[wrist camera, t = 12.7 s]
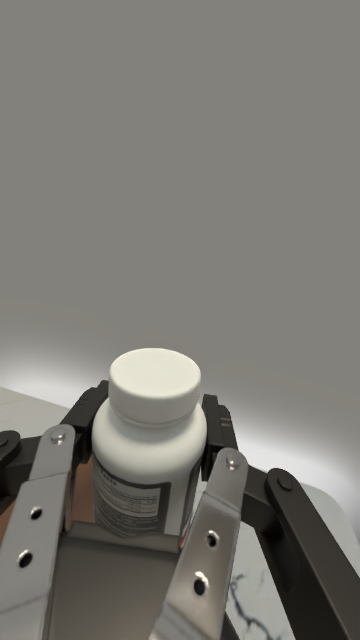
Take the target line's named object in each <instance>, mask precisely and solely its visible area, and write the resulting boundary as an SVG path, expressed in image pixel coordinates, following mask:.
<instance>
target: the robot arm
mask: <svg viewBox="0 0 360 640" xmlns="http://www.w3.org/2000/svg"><path fill="white" fill-rule="evenodd" d="M108 389H109V381H106V380H102V381H101V383H100V384H99V385H98V387H97V388H94V387H92V388H90V389H89V390H87V391H85V392H84V393H83V394H82V396H81V397H80V398H79V400H78V401H77V402H76V403H75V405H74V406H73V407H72V409H71V410H70V411H69V412H68V414H67V415H66V416H65V418H64V419H63V420H62V421H61V423H60V424H59V425H56V426H54V427H51V428H50V429H48V430H47V431H46V432H45V433H44V434H43V435H42V436H38V437H31V438H23V439H21V438H20V434H19V433H18V432H16V431H12V430H9V431H3V432H0V516H1V515H2V514H3V513H4V512H5V511H6V509H7V508H8V507H9V506H10V505H11V504H12V503H13V502H14V501H15V500H16V502H15V505H14V508H13V511H12V514H11V517H10V520H9V523H8V526H7V529H6V532H5V535H4V538H3V541H2V544H1V547H0V640H240V639H239V637H238V635H237V633H236V631H235V629H234V627H233V625H232V623H231V621H230V619H229V617H228V615H227V613H226V611H225V608H226V602H227V597H228V591H229V585H230V579H231V573H232V568H233V562H234V556H235V550H236V544H237V539H238V533H239V527H240V521H242V522H244V523H246V524H248V525H250V526H252V527H253V528H254V529H255V532H256V535H257V537H258V540H259V543H260V545H261V548H262V551H263V554H264V556H265V559H266V562H267V564H268V567H269V570H270V572H271V575H272V578H273V580H274V583H275V586H276V588H277V591H278V594H279V596H280V599H281V602H282V604H283V607H284V610H285V612H286V615H287V618H288V621H289V623H290V626H291V629H292V631H293V634H294V637H295V639H296V640H360V578H359V576H358V575H357V573H356V572H355V570H354V568H353V567H352V565H351V564H350V562H349V561H348V559H347V557H346V556H345V554H344V553H343V551H342V550H341V548H340V546H339V545H338V543H337V542H336V540H335V539H334V537H333V535H332V534H331V532H330V531H329V529H328V528H327V526H326V524H325V523H324V521H323V520H322V518H321V517H320V515H319V513H318V512H317V510H316V509H315V507H314V506H313V504H312V502H311V501H310V499H309V498H308V496H307V495H306V493H305V491H304V490H303V488H302V487H301V485H300V484H299V482H298V481H297V480H296V478H295V477H294V476H293V475H291V474H290V473H289V472H287V471H285V470H283V469H279V468H273V469H271V470H269V472H268V474H267V473H265V472H262V471H260V470H258V469H256V468H254V467H252V466H250V465H249V464H248V462H247V460H246V458H245V457H244V455H243V454H242V453H240V452H239V450H238V446H237V442H236V437H235V433H234V429H233V425H232V421H231V416H230V412H229V411H228V409H227V408H226V407H225V406H224V405H218V400H217V396H216V395H209V394H204V397H203V403H202V407H201V408H202V410H203V412H204V415H205V418H206V423H207V437H206V445H205V449H204V454H203V458H202V462H201V478H202V481H206V482H207V486H206V489H205V491H204V492H203V494H202V496H201V499H200V502H199V504H198V507H197V510H196V513H195V516H194V518H193V521H192V524H191V527H190V529H189V532H188V535H187V538H186V541H185V543H184V546H183V548H181V547H180V546H179V543H180V536H178V535H171V534H164V533H158V532H150V533H145V534H139V535H134V536H128V537H123V536H121V535H119V534H117V533H116V532H114V531H112V530H110V529H108V528H106V527H105V526H103V525H101V524H98V523H91V522H85V521H78V520H73V522H72V516H73V506H74V497H75V487H76V478H77V467H78V465H79V464H87V463H88V461H89V459H90V457H91V455H92V441H91V437H92V428H93V422H94V419H95V416H96V414H97V412H98V410H99V408H100V406H101V405H102V404H103V403H104V401H105V400H106V399H107V398H108V397H109V394H108Z"/></svg>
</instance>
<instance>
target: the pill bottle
mask: <svg viewBox="0 0 360 640" xmlns="http://www.w3.org/2000/svg"><path fill="white" fill-rule="evenodd" d="M200 379H201V374H200V370H199V368H198V366H197V365H196V363H194V361H193V360H191V359H190V358H188V357H186V356H185V355H183V354H180V353H178V352H175V351H171V350H167V349H160V348H145V349H137V350H134V351H130V352H128V353H125V354H123V355H121V356H120V357H119V358H117V359H116V360H115V361H114V362H113V363H112V365H111V367H110V372H109V389H108V394H109V397H108V398H107V399H106V400H105V401H104V403H103V404H102V405H101V406H100V408H99V410H98V412H97V414H96V416H95V419H94V422H93V428H92V437H91V441H92V474H93V523H98V524H101V525H103V526H105V527H106V528H108V529H110V530H112V531H114V532H116V533H117V534H119V535H121V536H123V537H128V536H134V535H139V534H145V533H150V532H158V533H164V534H171V535H178V536H180V543H179V546H180V547H181V548H182V547H183V545H184V542H185V540H186V536H187V533H188V529H189V524H190V520H191V514H192V509H193V503H194V498H195V493H196V487H197V483H198V478H199V473H200V467H201V462H202V458H203V454H204V449H205V445H206V437H207V423H206V418H205V415H204V412H203V410H202V408H201V406H200V405H199V403H198V400H199V389H200Z"/></svg>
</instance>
